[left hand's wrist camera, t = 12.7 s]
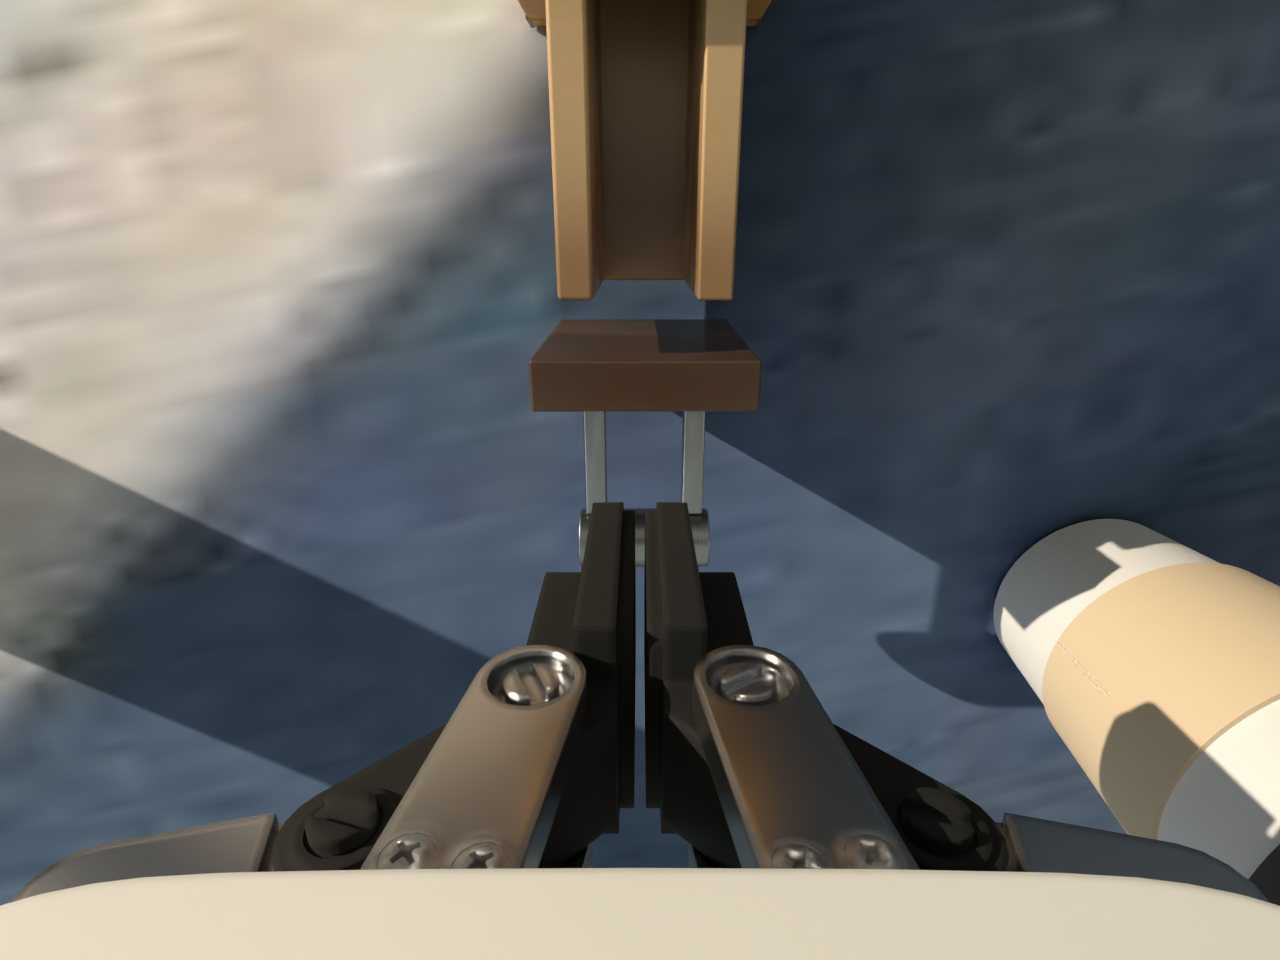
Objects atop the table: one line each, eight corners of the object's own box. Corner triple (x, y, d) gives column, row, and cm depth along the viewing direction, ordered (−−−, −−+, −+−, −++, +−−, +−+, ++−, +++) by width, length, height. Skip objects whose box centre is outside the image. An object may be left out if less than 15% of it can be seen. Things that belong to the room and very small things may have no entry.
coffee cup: (1245, 614, 26) (1937, 1067, 12) (1032, 733, 28) (1418, 1236, 14) (1145, 441, 24) (1872, 760, 10) (920, 584, 26) (1254, 1020, 12)
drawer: (718, 517, 24) (745, 622, 18) (568, 517, 24) (543, 622, 18) (759, -405, 16) (839, -817, 9) (530, -404, 16) (458, -817, 9)
